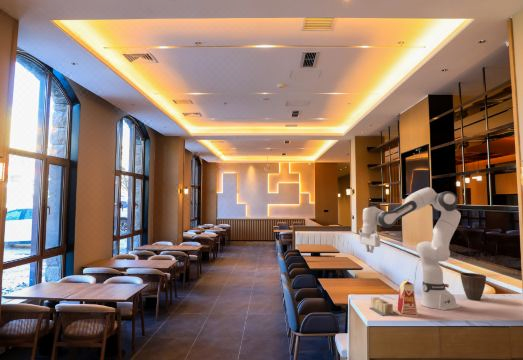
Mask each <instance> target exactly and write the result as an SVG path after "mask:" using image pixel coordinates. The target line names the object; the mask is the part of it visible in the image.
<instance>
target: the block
mask: <svg viewBox="0 0 523 360" xmlns="http://www.w3.org/2000/svg"><path fill="white" fill-rule="evenodd" d="M370 307H374V308H375V309H377V310H379V311H381V312H383V313H385V314H388V313H393V311H394V306H393V303H391V302H389V301H387V300H385V299H384V298H381V297H375V296H374V297H370Z"/></svg>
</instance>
